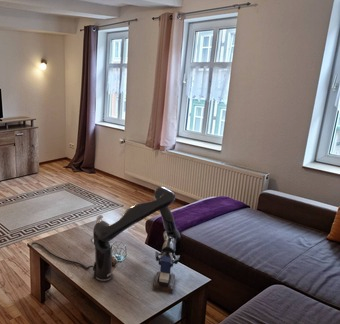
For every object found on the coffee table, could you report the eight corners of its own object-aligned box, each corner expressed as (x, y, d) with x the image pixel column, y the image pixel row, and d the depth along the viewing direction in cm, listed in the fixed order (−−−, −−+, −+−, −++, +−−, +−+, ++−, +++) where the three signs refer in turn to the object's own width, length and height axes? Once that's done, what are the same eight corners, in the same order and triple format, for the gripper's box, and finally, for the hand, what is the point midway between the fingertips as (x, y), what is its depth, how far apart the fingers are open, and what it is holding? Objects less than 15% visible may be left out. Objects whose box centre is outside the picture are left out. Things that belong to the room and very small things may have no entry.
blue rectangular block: (161, 273, 186) (162, 255, 183) (170, 274, 185) (171, 257, 182) (158, 284, 176) (159, 266, 173) (168, 286, 175) (169, 268, 172)
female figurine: (103, 250, 216) (103, 222, 210) (88, 240, 228) (87, 214, 222) (115, 244, 222) (116, 217, 217) (100, 235, 234) (100, 209, 229)
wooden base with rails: (153, 290, 177) (153, 283, 176) (156, 276, 189) (156, 269, 188) (172, 293, 174) (172, 286, 173) (174, 279, 186) (175, 272, 185)
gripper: (156, 241, 195) (152, 256, 180) (181, 245, 191) (179, 261, 175) (156, 252, 197) (151, 268, 182) (181, 256, 193) (178, 273, 177)
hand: (165, 264), depth 178 cm, fingers closed on blue rectangular block, 5 cm apart
